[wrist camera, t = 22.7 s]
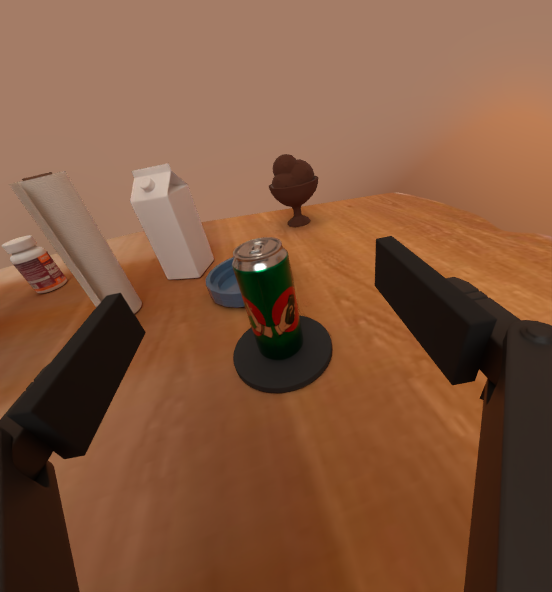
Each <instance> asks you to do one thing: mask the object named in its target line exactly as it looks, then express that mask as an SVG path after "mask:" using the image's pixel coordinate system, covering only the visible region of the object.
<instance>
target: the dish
mask: <svg viewBox="0 0 552 592" xmlns="http://www.w3.org/2000/svg"><path fill="white" fill-rule="evenodd" d="M233 260H234V257H232V258H230V259H228V260H226V261H224V262H222V263H220V264H219V265H217V266H216V267H215V268H214V269H212V270H211V271H210V272H209V274H208V276H207V278H206V286H207V289H208V291H209V294H210V296H211V298H212V299H213V300H214V302H215V303H217V304H219V305H222V306H225V307H234V308H238V307H245V305H244V302H243V299H242V296H241V292H240V289H239V286H238V283H237V280H236V277H235V274H234V271H233V267H232V263H233Z"/></svg>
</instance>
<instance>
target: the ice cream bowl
mask: <svg viewBox="0 0 552 592" xmlns="http://www.w3.org/2000/svg"><path fill="white" fill-rule="evenodd" d="M273 173H274V176H275V177H274V178H273V181H272V184H271V185H270V186H269V188H270V191H271V193H272V195H273V196H274V197H275V198H276V199H277V200H278V201H279V202H280V203H282V204H284V205H286V206H290V207H292V208H293V210H294V217H293V218H292V219H290V220H289V221H288V225H289V226H290V227H299V226H303V225H306V224H308V223H309V222H310V219H309V218H308V217H306V216H304V215H302V214H301V205H302V204H304V203H305V202H306V201H307V200H308V199H309V198H310V197H311V196H312V195H313V193H314V192H315V191H316V188H317V184H318V177H317V176H314V172H313V169H312V168H311V166H310V165H309V164H308V163H307V162H306V161H303V160H296V159H295V158H294V157H293V156H292V155H287V154H285V155H281V156H279V157H278V158H277V159H276V160H275V162H274V165H273Z"/></svg>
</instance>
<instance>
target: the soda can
mask: <svg viewBox="0 0 552 592" xmlns="http://www.w3.org/2000/svg"><path fill="white" fill-rule="evenodd" d="M233 256H234V260H233V263H232V267H233V271H234V274H235V277H236V280H237V283H238V286H239V289H240V292H241V296H242V299H243V302H244V305H245V308H246V311H247V314H248V318H249V321H250V324H251V327H252V330H253V333H254V336H255V340H256V343H257V346H258V349H259V351H260V353H261V354H262V355H263V356H264V357H266V358H269V359H272V360H285V359H288V358H290V357H292V356H294V355H295V354H296V353H297V352H298V351H299V350H300V349H301V347H302V345H303V334H302V328H301V323H300V317H299V312H298V306H297V301H296V295H295V289H294V284H293V278H292V273H291V267H290V262H289V256H288V252H287V250H286V249H285V248H283V246H282V243H281V241H280V240H279V239H277V238H272V237H264V238H257V239H253V240H250V241H247V242H245V243H243V244H241V245H239V246H238V247H236V248H235V250H234V251H233Z"/></svg>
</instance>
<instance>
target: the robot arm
mask: <svg viewBox="0 0 552 592" xmlns="http://www.w3.org/2000/svg"><path fill="white" fill-rule="evenodd" d="M375 287H376V288H377V289H378V290H379V292H380V293H381V294H382V296H383V297H384V298H385V299H386V301H387V302H388V303H389V305H390V306H391V307H392V308H393V310H394V311H395V312H396V314H397V315H398V316H399V317H400V319H401V320H402V321H403V323H404V324H405V325H406V326H407V328H408V329H409V330H410V332H411V333H412V334H413V335H414V337H415V338H416V339H417V341H418V342H419V343H420V344H421V346H422V347H423V348H424V350H425V351H426V352H427V353H428V355H429V356H430V357H431V359H432V360H433V361H434V362H435V364H436V365H437V366H438V368H439V369H440V370H441V371H442V373H443V374H444V375H445V377H446V378H447V379H448V380H449V382H450V383H451V384H452V385H456V384H462V383H467V382H472V381H475V379H476V376H477V373H478V371H479V369H480V370H481V371H482V372H483V374H484V375H485V376H486V377H487V378H488V379H487V382H486V384H485V387H484V389H483V391H482V394H481V396H480V399H482V400H484V402H483V411H482V421H481V431H480V441H479V450H478V460H477V470H476V479H475V489H474V499H473V508H472V518H471V528H470V537H469V547H468V557H467V566H466V576H465V586H464V592H552V326H551V325H549V324H545V323H542V322H538V321H530V320H522V321H521V320H520V319H518V318H517V317H516V316H514V315H513V314H512V313H510V312H509V311H507V310H506V309H505V308H503V307H502V306H500V305H499V304H498V303H496V302H495V301H494V300H492V299H491V298H488V297H487V295H485V294H484V293H483V292H481V291H480V292H479V290H478V289H477V288H476V287H474V286H473V285H471V284H470V283H469V282H466V281H464V280H461V279H459V278H456V277H451V278H444V277H443V276H442V275H441V274H439V273H438V272H437V271H436V270H434V269H433V268H432V267H430V266H429V265H428V264H427V263H425V262H424V261H423V260H422V259H420V258H419V257H418V256H416V255H415V254H414V253H413V252H411V251H410V250H409V249H408V248H406V247H405V246H404V245H402V244H401V243H400V242H399V241H397V240H396V239H395V238H394V237H392V236H388V237H384V238H379V239H376V262H375ZM145 333H146V332H145V331H144V329H143V328H142V326H141V324H140V323H139V321H138V319H137V318H136V316H135V315H134V313H133V311H132V310H131V308H130V307H129V305H128V303H127V302H126V300H125V298H124V297H123V295H122V294H121V293H116V294H111V295H107V296H106V297H105V298H104V299H103V300H102V301H101V303H100V304H99V305H98V306H97V307H96V309H95V310H94V311H93V312H92V314H91V315H90V316H89V317H88V318H87V320H86V321H85V322H84V323H83V324H82V326H81V327H80V328H79V329H78V330H77V332H76V333H75V334H74V335H73V336H72V338H71V339H70V340H69V341H68V342H67V344H66V345H65V346H64V347H63V349H62V350H61V351H60V352H59V353H58V355H57V356H56V357H55V358H54V359H53V361H52V362H51V363H50V364H48V365H47V366H46V367H45V368H44V369H42V371H41V372H40V373H39V374H38V375H37V377H36V378H35V379H34V382H32V383H31V384H30V385H29V386H28V387H27V388H26V391H24V392H23V393H22V394H21V396H20V397H19V398H18V399H17V400H16V402H15V403H14V404H13V405H12V406H11V408H10V409H9V410H8V411H7V412H6V414H5V415H4V416H3V417H2V418H1V419H0V592H79V587H78V582H77V577H76V572H75V567H74V563H73V558H72V553H71V548H70V543H69V538H68V533H67V528H66V523H65V519H64V514H63V509H62V504H61V499H60V494H59V489H58V484H57V479H56V475H55V470H54V466H53V465H52V463H51V462H49V461H48V459H49V457H50V456H51V454H52V452H53V451H54V452H55V453H57V454H58V455H59V456H61V457H62V458H63V459H68V458H73V457H78V456H84V455H85V454H86V452H87V450H88V448H89V446H90V444H91V442H92V440H93V438H94V436H95V434H96V432H97V430H98V428H99V426H100V424H101V421H102V419H103V417H104V415H105V413H106V411H107V409H108V407H109V405H110V403H111V401H112V399H113V397H114V395H115V393H116V391H117V389H118V387H119V385H120V383H121V381H122V379H123V377H124V375H125V373H126V371H127V369H128V367H129V365H130V363H131V361H132V359H133V357H134V355H135V353H136V351H137V349H138V347H139V345H140V343H141V341H142V339H143V337H144V335H145Z"/></svg>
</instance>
